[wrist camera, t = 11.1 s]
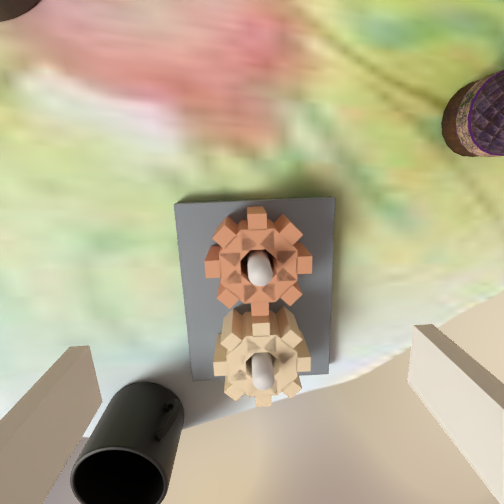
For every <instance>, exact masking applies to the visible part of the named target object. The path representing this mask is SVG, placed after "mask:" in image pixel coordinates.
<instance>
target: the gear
mask: <svg viewBox="0 0 504 504" xmlns="http://www.w3.org/2000/svg"><path fill="white" fill-rule="evenodd" d="M302 235H303V234H302V233H301V232H300V231H299V229H298V228H297V227H296V226H295V225H294V224H293V223H292V222H291V221H290V220H289V219H288V218H287V217H286V216H285V215H284V214H283V213H282V214H281V216H280V217H279V218H278V219H277V220H276V221H275V222H274V223H273V222H272V221H271V220H270V219H267V213H266V211H265V209H264V207H263V206H253V207H247V220H241V221H240V222H239V223H238V224H236V223H235V222H234V221H233V220H232V219H231V218H230V217H228V216H227V217H226V218H225V219H224V220H223V221H222V222H221V223H220V224H219V226H218V227H217V228H216V231H215V233H214V235H213V238H212V239H213V240H214V241H215V242H217V243H218V244H219V245H220V246H210V248H209V251H208V253H207V256H206V258H205V261H204V263H205V275H206V278H221V279H220V283H219V288H218V293H217V299H218V300H219V301H220V302H222V303H223V304H224V305H225V306H227V307H228V308H229V309H230V308H231V307H232V306H233V305H234V304H235V303H236V302H237V301H238V300H239V299H240V300H241V301H242V302H243V303H245V304H246V303H251V314H252V316H266V315H269V302H276V301H277V300H278V299H279V298H281V299H282V300H284V301H285V302H286V303H287V304H288V305H289V306H291V305H292V304H293V303H294V302H295V301H296V300H297V299H298V298H299V297H300V296H301V295H302V292H301V290H300V288H299V286H298V283H297V274H312V255H311V254H310V253H309V251H308V250H307V249H306V248H305V246H304V245H303V244H302V243H296V242H297V241H298V240H299V239H300V238H301V236H302ZM263 249H266V250H267V251H268V252H269V253H270V254H272V258H271V259H270V260H269V261H270V265H271V268H272V272H273V277H272V280H271V281H270V282H269V283H268V284H267V285H265V286H256V285H254V284H252V283H251V282H250V280H249V277H248V264H247V263H246V262H244V261H243V260H242V258H243V257H244V256H245V255H246V254H247V253H248V252H249V251H250V250H263Z"/></svg>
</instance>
